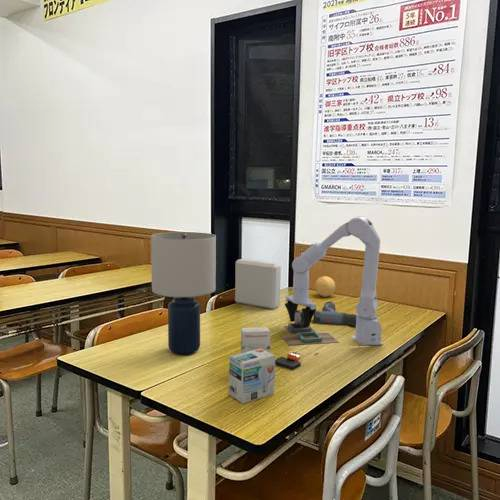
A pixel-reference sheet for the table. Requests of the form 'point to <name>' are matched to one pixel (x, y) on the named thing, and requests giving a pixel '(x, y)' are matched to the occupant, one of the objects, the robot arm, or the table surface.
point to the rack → (309, 338)
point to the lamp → (183, 282)
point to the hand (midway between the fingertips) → (299, 323)
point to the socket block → (297, 329)
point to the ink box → (255, 339)
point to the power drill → (333, 316)
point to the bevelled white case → (257, 283)
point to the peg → (299, 319)
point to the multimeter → (289, 361)
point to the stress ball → (325, 286)
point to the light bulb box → (251, 375)
